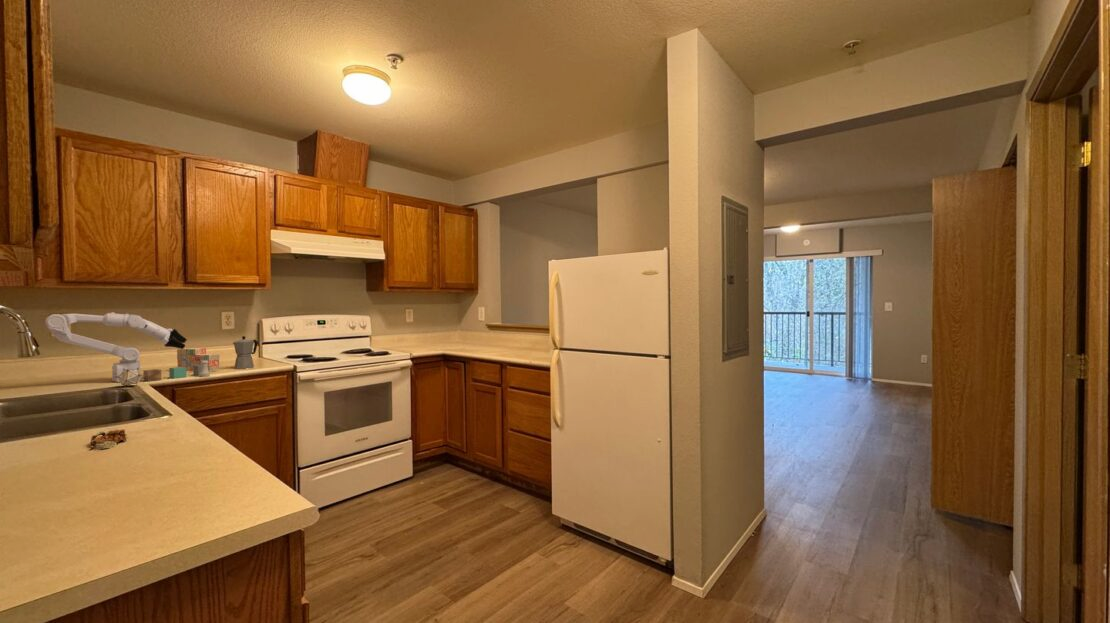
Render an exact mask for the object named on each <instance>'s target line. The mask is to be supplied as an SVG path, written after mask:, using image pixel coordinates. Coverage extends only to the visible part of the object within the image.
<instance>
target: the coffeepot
mask: <svg viewBox="0 0 1110 623" xmlns="http://www.w3.org/2000/svg"><path fill="white" fill-rule="evenodd" d="M241 337H242V339H239V340H236V341H233V342H232V345H234V349H235V350H234V351H235V354H236V357H235V363H234V368H233V369H235V368H236V369H235V370H247V369H246V368H250V369H253V367H254V368H255V366H254V361H253V356H252V355H254V354H256V351H257V347H258V344H259V342H258V340H257V339H246V336H245V335H243V336H241Z"/></svg>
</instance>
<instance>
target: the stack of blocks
mask: <svg viewBox="0 0 1110 623" xmlns="http://www.w3.org/2000/svg"><path fill="white" fill-rule="evenodd" d="M176 353H177V354H176V359H177V367H186V371H193V366H194V365H202V364H201V363H200V362H201V361H202V360H203V361H204V360H205V361H206V360H208V364H207V365H209V366H210V373H212V372H211V371H214V372H218V371H217V370H219V371H220V353H207V348H206V347H201V348H200V347H193V348H192V347H186V348H185V347H184V348H183V349H180V348H176Z"/></svg>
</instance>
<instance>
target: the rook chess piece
mask: <svg viewBox="0 0 1110 623" xmlns="http://www.w3.org/2000/svg"><path fill="white" fill-rule="evenodd" d="M200 363H201V364H202V365H201V366H202V368H201V372H200V373H199V374H200V376H199V378H207V377H211V372H209V371H208V365H207V364H208V360H206V361H205V360H204V361H203V360H202V361H201V362H200ZM209 374H210V375H209Z"/></svg>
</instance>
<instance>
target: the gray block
mask: <svg viewBox="0 0 1110 623" xmlns="http://www.w3.org/2000/svg"><path fill="white" fill-rule="evenodd" d="M201 368H202V366H201V365H194V366H193V372H192V373H193V376H195V375H196V377H200V374H199V373H200V372H201ZM208 371H209V372H210V366H209V365H208ZM210 373H211V372H210Z"/></svg>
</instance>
